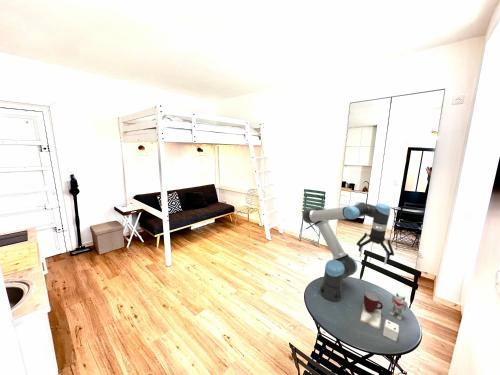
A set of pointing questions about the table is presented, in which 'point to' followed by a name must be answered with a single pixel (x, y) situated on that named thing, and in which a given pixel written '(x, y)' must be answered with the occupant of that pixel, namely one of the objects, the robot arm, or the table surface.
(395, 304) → the figurine
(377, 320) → the board
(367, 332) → the table surface
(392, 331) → the die
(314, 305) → the table surface
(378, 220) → the robot arm
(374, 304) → the mug
